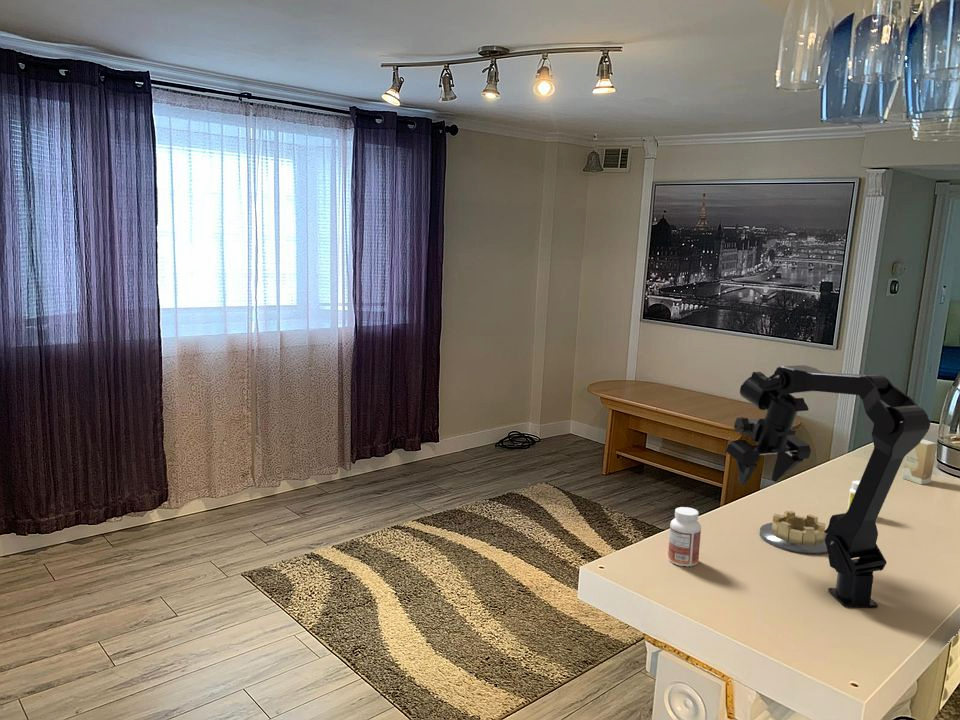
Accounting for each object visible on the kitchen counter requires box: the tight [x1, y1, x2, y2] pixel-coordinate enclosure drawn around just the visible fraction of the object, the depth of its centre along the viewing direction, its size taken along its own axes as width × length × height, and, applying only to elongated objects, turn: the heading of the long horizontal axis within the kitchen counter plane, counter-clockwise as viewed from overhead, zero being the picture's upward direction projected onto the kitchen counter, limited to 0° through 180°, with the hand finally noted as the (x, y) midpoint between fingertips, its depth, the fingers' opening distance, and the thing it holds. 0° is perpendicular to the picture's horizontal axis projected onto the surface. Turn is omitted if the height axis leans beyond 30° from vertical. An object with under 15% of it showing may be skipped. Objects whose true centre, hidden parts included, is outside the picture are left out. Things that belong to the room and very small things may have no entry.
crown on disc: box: [759, 510, 828, 556], centre depth 165 cm, size 16×16×5 cm
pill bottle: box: [667, 506, 702, 568], centre depth 151 cm, size 6×6×11 cm
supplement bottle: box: [846, 480, 860, 512], centre depth 182 cm, size 5×5×8 cm
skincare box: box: [901, 438, 938, 485], centre depth 211 cm, size 6×4×12 cm
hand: (757, 482), depth 159 cm, fingers open, 9 cm apart
